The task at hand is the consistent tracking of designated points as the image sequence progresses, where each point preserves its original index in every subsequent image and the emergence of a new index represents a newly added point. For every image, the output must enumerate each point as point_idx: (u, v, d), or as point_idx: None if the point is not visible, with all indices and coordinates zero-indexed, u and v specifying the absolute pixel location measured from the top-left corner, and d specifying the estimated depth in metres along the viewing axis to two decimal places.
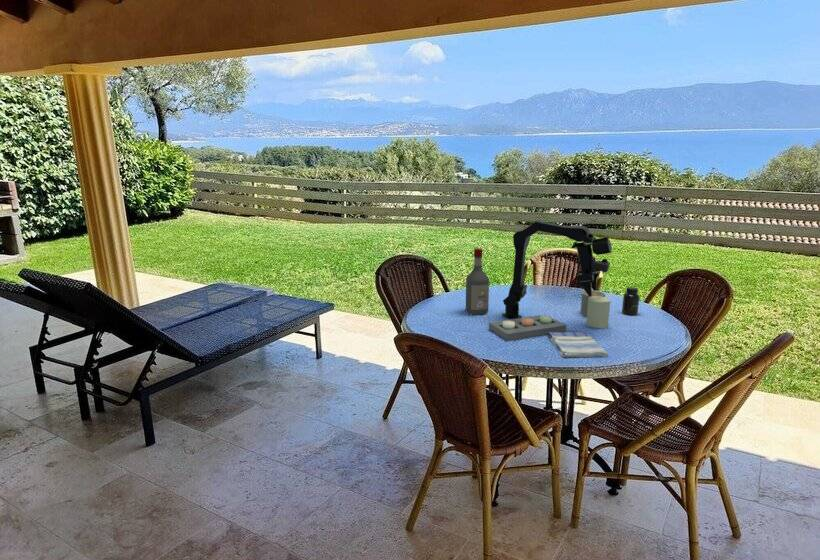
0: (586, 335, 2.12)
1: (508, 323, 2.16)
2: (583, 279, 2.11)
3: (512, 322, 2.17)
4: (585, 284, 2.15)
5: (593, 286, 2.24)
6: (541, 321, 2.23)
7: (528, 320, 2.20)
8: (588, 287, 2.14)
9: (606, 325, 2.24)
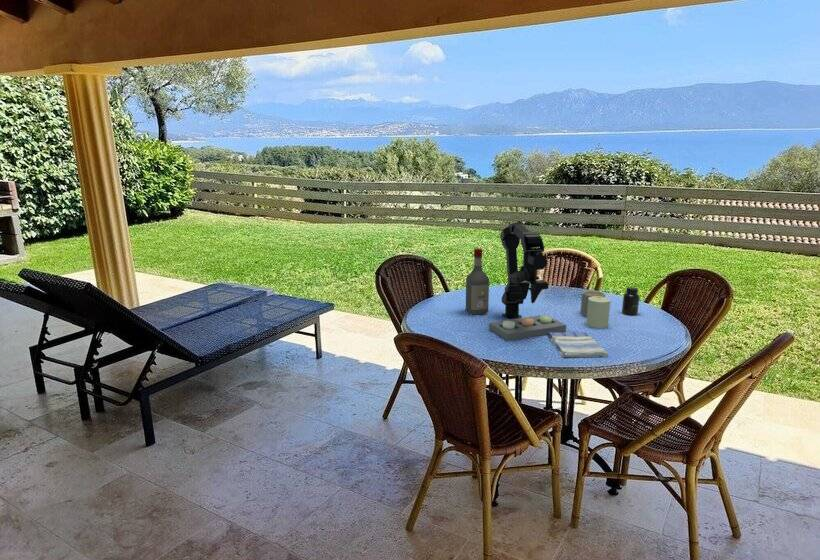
0: (586, 335, 2.12)
1: (508, 323, 2.16)
2: None
3: (512, 322, 2.17)
4: None
5: None
6: (541, 321, 2.23)
7: (528, 320, 2.20)
8: None
9: (606, 325, 2.24)
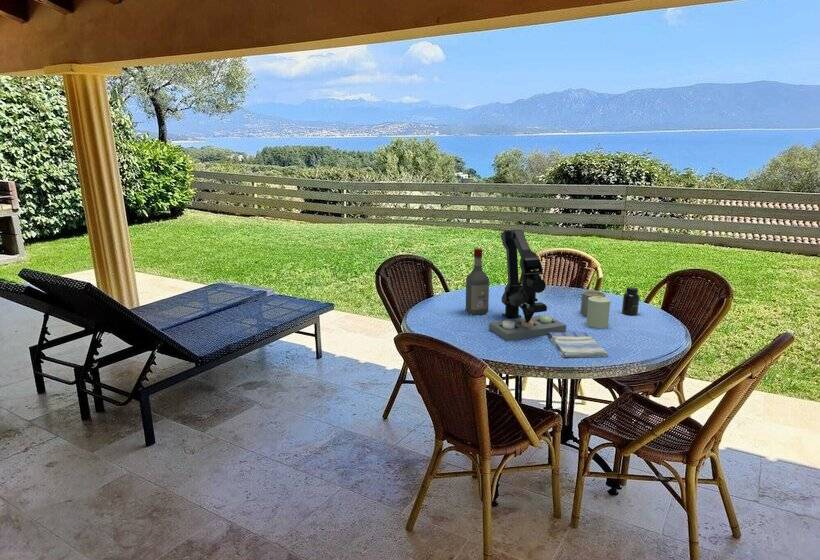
0: (586, 335, 2.12)
1: (508, 323, 2.16)
2: None
3: (512, 322, 2.17)
4: None
5: None
6: (541, 321, 2.23)
7: (528, 322, 2.20)
8: None
9: (606, 325, 2.24)
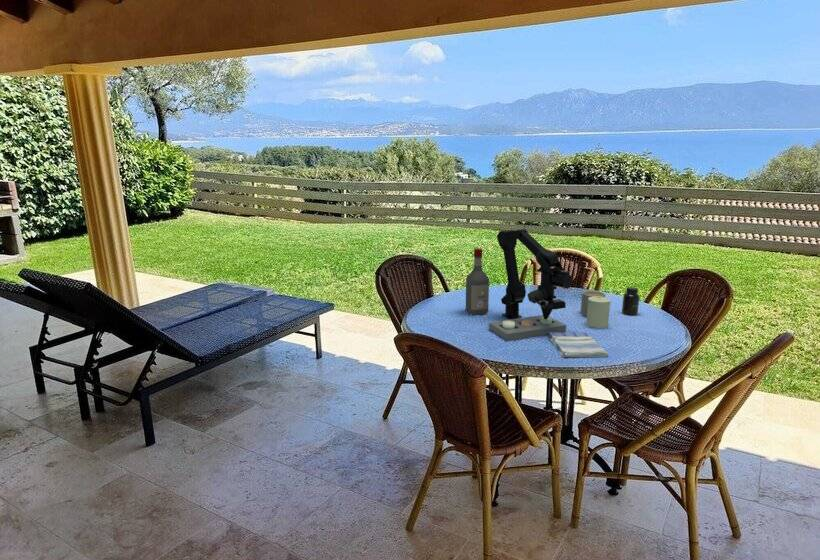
0: (586, 335, 2.12)
1: (508, 323, 2.16)
2: None
3: (512, 322, 2.17)
4: None
5: None
6: None
7: (528, 323, 2.20)
8: None
9: (606, 325, 2.24)
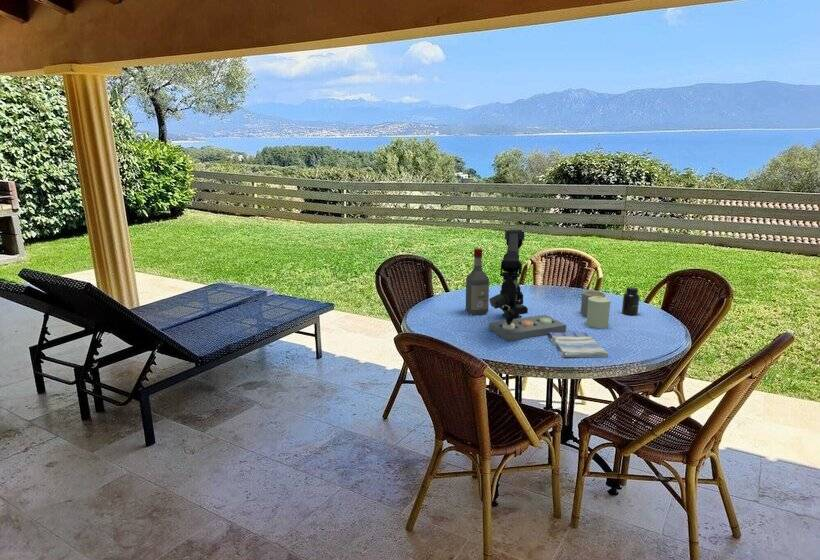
0: (586, 335, 2.12)
1: (508, 325, 2.16)
2: None
3: (512, 324, 2.18)
4: None
5: None
6: None
7: (528, 323, 2.20)
8: None
9: (606, 325, 2.24)
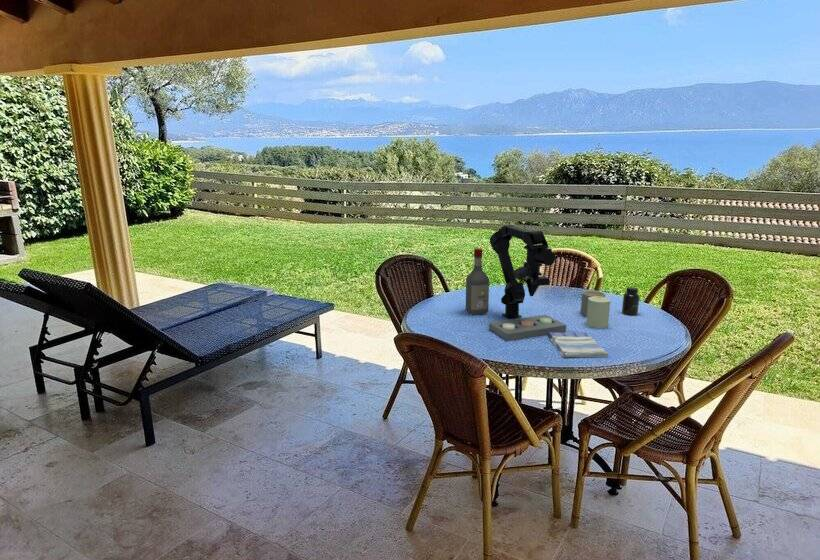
0: (586, 335, 2.12)
1: (508, 326, 2.16)
2: None
3: (512, 325, 2.18)
4: None
5: None
6: None
7: (528, 323, 2.20)
8: None
9: (606, 325, 2.24)
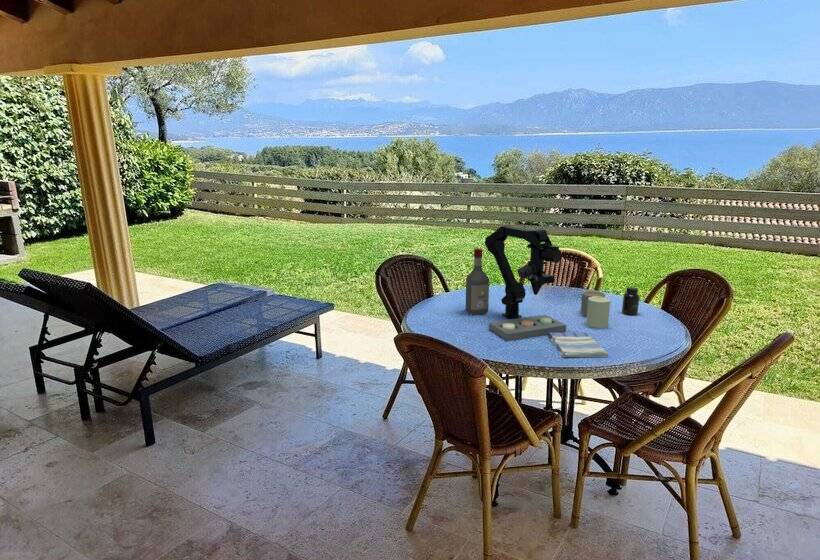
0: (586, 335, 2.12)
1: (508, 326, 2.16)
2: None
3: (512, 325, 2.18)
4: None
5: None
6: None
7: (528, 323, 2.20)
8: None
9: (606, 325, 2.24)
